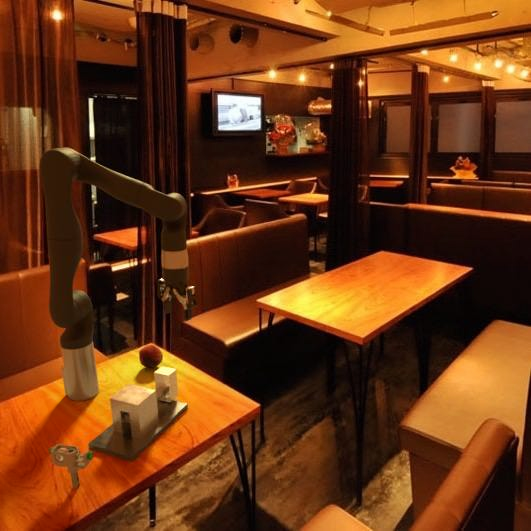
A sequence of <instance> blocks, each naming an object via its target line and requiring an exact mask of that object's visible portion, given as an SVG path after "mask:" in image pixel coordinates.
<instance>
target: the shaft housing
mask: <svg viewBox="0 0 531 531" xmlns="http://www.w3.org/2000/svg"><path fill="white" fill-rule="evenodd" d="M109 403H110V411H111V418H112V419H111V420H112V423H111V425H109V426H108V427H106V429H104V430H103V431H102V432H100V433H99V434H98V435H97V436H95V438H93V439H92V440H91V441H90V442H89V443H88V444H87V445H88V446H87V447H88V449H89V450H91V451H94V452H99V453H102V454H105V455H108V456H112V457H115V458H119V459H121V460H124V461H128V462H132V463H133V462H135V460H136V459H137V458H138V457H139V456H141V455H142V454H143V453H144V452H145V451H146V450H147V449H148V447H150V446H151V445H152V444H153V443H154V442H155V441H156V440H157V439H158V438H159V437H160V436H161V435H162V434H163V433H164V432H165V431H166V430H167V429H168V428H169V427H170V426H172V424H173V423H174V422H175V421H176V420H177V419H178V418H179V417H180V416H182V414H183V413H185V411H187V410H188V408H189V404H188V403H187V402H183V401H178V400H175V399H174V400H173V401H172V402H171V403H170V402H165V401H161V400H158V401H157V397H156V389H152V388H149V387H146V386H145V387H144V386H140V385H135V384H131V383H128V384H127V385H125V386H124V387H122V388H121V389H120V390H119V391H118V392H116V393H114V395H112V396H111V397H109ZM127 413H129V414H130V423H127V422H125V415H126V414H127Z"/></svg>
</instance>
